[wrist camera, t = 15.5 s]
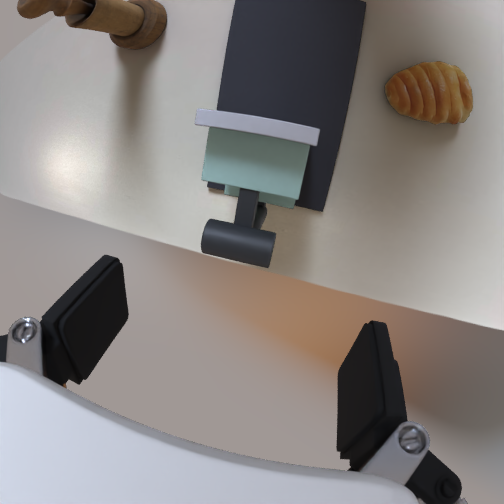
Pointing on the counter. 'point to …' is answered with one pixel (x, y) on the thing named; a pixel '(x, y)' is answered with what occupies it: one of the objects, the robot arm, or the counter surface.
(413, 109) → the pastry
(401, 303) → the counter surface
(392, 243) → the counter surface
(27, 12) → the mortar and pestle
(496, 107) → the counter surface
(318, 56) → the iron mat
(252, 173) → the iron
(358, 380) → the robot arm
